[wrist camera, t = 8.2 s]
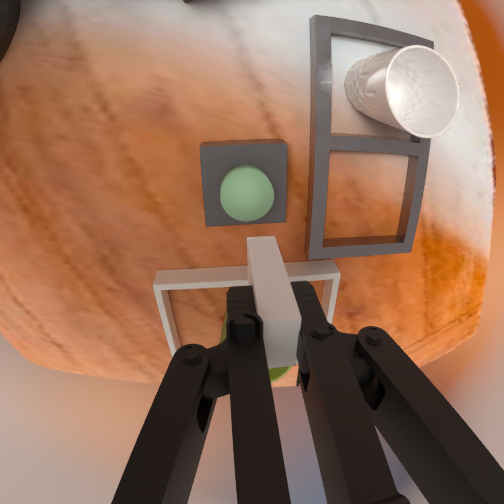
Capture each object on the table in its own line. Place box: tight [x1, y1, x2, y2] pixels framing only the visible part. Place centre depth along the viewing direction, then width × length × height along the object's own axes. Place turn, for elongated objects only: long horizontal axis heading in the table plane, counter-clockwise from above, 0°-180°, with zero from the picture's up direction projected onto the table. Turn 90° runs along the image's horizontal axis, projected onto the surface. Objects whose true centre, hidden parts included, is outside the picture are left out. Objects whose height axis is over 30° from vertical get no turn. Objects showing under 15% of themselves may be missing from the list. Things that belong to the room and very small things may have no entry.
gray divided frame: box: [305, 15, 434, 260], centre depth 29 cm, size 14×26×2 cm, turn 1°
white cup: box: [345, 45, 460, 138], centre depth 23 cm, size 8×8×10 cm
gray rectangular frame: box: [153, 260, 341, 364], centre depth 39 cm, size 22×16×3 cm
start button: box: [220, 164, 274, 221], centre depth 28 cm, size 5×5×5 cm
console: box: [200, 139, 287, 227], centre depth 30 cm, size 8×8×3 cm
